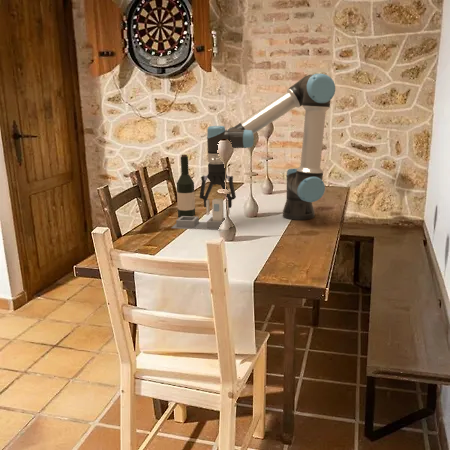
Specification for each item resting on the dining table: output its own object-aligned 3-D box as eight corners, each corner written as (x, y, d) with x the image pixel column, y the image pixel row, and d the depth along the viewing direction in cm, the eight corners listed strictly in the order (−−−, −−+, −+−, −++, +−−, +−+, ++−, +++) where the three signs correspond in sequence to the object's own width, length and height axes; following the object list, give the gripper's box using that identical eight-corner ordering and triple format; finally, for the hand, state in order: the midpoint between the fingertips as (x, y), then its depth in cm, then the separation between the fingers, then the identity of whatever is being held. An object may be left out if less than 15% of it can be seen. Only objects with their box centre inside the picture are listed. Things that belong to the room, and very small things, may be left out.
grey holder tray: (234, 225, 223) (234, 216, 222) (228, 232, 212) (228, 223, 211) (179, 223, 228) (178, 214, 227) (170, 230, 217) (170, 221, 216)
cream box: (223, 225, 220) (223, 198, 217) (221, 228, 215) (220, 201, 212) (215, 224, 221) (214, 198, 217) (212, 227, 216) (211, 200, 213)
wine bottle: (198, 216, 240) (196, 154, 232) (186, 220, 234) (183, 156, 226) (187, 214, 245) (184, 153, 238) (174, 217, 240) (171, 155, 232)
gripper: (190, 163, 210) (192, 215, 216) (239, 164, 205) (240, 217, 211) (195, 161, 217) (197, 211, 223) (242, 161, 212) (243, 213, 218)
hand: (218, 214), depth 217 cm, fingers open, 8 cm apart
